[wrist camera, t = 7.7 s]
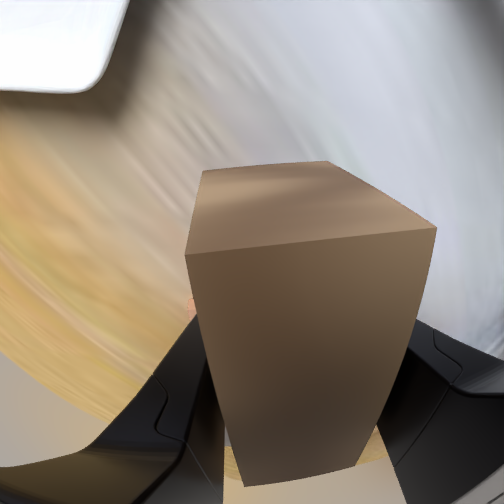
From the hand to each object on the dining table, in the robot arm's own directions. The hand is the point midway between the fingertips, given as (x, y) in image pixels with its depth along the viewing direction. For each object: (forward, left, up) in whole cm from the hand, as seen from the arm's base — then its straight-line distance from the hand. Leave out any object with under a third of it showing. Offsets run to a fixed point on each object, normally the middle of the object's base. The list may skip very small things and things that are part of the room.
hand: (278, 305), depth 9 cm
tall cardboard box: (0, +2, -1) cm, 3 cm away
